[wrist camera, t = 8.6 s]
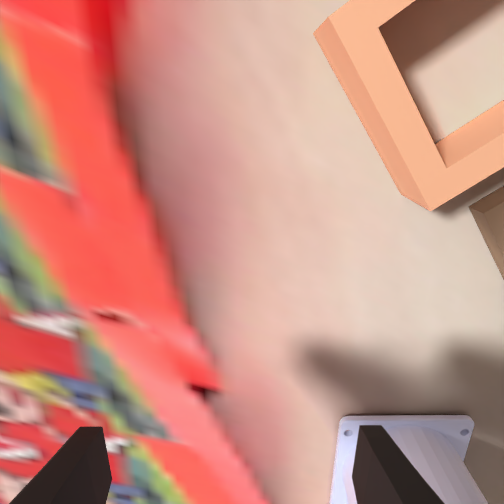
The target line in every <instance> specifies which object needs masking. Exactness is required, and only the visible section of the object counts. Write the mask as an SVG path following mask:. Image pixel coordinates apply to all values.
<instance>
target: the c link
mask: <svg viewBox="0 0 504 504" xmlns="http://www.w3.org/2000/svg"><path fill="white" fill-rule="evenodd" d="M414 1H415V0H350V1H348V2H347V3H346V4H345V5H343V6H342V7H341V8H339V9H338V10H337V11H335V12H334V13H333V14H331V15H330V16H329V17H328V18H327V19H326V20H325V21H324V22H323V23H322V24H321V25H320V26H319V28H318V29H317V30H316V31H315V32H314V33H313V34H314V36H315V38H316V40H317V41H318V43H319V45H320V47H321V49H322V51H323V52H324V54H325V56H326V58H327V60H328V62H329V63H330V65H331V67H332V69H333V71H334V73H335V74H336V76H337V78H338V80H339V82H340V84H341V85H342V87H343V89H344V91H345V93H346V95H347V96H348V98H349V100H350V102H351V104H352V105H353V107H354V109H355V111H356V113H357V115H358V116H359V118H360V120H361V122H362V124H363V126H364V127H365V129H366V131H367V133H368V135H369V137H370V138H371V140H372V142H373V144H374V146H375V148H376V149H377V151H378V153H379V155H380V157H381V159H382V160H383V162H384V164H385V166H386V168H387V170H388V171H389V173H390V175H391V177H392V179H393V181H394V182H395V184H396V186H397V188H398V190H399V191H400V193H401V195H403V196H405V197H406V198H408V199H410V200H412V201H413V202H415V203H417V204H419V205H420V206H422V207H424V208H426V209H427V210H429V211H432V210H434V209H435V208H437V207H439V206H440V205H442V204H444V203H445V202H447V201H449V200H450V199H452V198H454V197H455V196H457V195H459V194H460V193H462V192H464V191H465V190H467V189H469V188H470V187H472V186H474V185H475V184H477V183H479V182H480V181H482V180H483V179H485V178H487V177H488V176H490V175H492V174H493V173H495V172H497V171H498V170H500V169H502V168H503V167H504V100H503V101H502V102H500V103H498V104H497V105H495V106H494V107H492V108H491V109H489V110H487V111H486V112H484V113H483V114H481V115H480V116H478V117H477V118H475V119H473V120H472V121H470V122H469V123H467V124H466V125H464V126H463V127H461V128H459V129H458V130H456V131H455V132H453V133H452V134H450V135H448V136H447V137H445V138H444V139H442V140H441V141H439V142H438V143H436V144H434V142H433V140H432V137H431V135H430V133H429V131H428V129H427V127H426V125H425V123H424V121H423V119H422V117H421V115H420V113H419V111H418V109H417V107H416V105H415V103H414V100H413V98H412V96H411V94H410V92H409V90H408V88H407V86H406V84H405V82H404V80H403V78H402V76H401V74H400V72H399V70H398V68H397V66H396V63H395V61H394V59H393V57H392V55H391V53H390V51H389V49H388V47H387V45H386V43H385V41H384V39H383V37H382V35H381V33H380V31H379V29H378V27H380V26H381V25H382V24H384V23H385V22H386V21H388V20H389V19H391V18H392V17H393V16H395V15H396V14H397V13H399V12H400V11H401V10H403V9H404V8H406V7H407V6H408V5H410V4H411V3H412V2H414Z"/></svg>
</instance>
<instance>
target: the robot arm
mask: <svg viewBox="0 0 504 504" xmlns="http://www.w3.org/2000/svg"><path fill="white" fill-rule="evenodd" d="M473 428H474V421H473V420H472V418H471V417H470V416H468V415H396V416H345V417H343V418H342V419H341V420H340V422H339V430H338V438H337V446H336V454H335V462H334V470H333V478H332V486H331V494H330V503H329V504H489V503H488V502H487V500H486V499H485V497H484V495H483V494H482V492H481V490H480V489H479V487H478V485H477V484H476V482H475V480H474V479H473V477H472V476H471V474H470V472H469V471H468V469H467V467H466V466H465V464H464V458H465V455H466V452H467V448H468V445H469V442H470V438H471V435H472V432H473ZM346 430H349V431H346ZM111 481H112V476H111V471H110V465H109V460H108V455H107V449H106V444H105V439H104V433H103V428H102V427H80V428H79V429H77V430H76V432H75V433H74V434H73V435H72V436H71V437H70V438H69V439H68V440H67V442H66V443H65V444H64V445H63V446H62V447H61V448H60V449H59V450H58V452H57V453H56V454H55V455H54V456H53V457H52V458H51V459H50V460H49V461H48V463H47V464H46V465H45V466H44V467H43V468H42V469H41V470H40V471H39V472H38V474H37V475H36V476H35V477H34V478H33V479H32V480H31V481H30V482H29V483H28V484H27V485H26V486H25V487H24V488H23V489H22V491H21V492H20V493H19V494H18V495H17V496H16V497H15V498H14V499H13V500H12V501H11V502H10V503H9V504H106V500H107V496H108V492H109V489H110V485H111Z"/></svg>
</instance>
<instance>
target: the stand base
mask: <svg viewBox="0 0 504 504" xmlns="http://www.w3.org/2000/svg"><path fill="white" fill-rule="evenodd" d="M469 209H470V211H471V213H472V215H473V217H474V219H475V221H476V223H477V225H478V227H479V229H480V231H481V233H482V236H483V238H484V240H485V242H486V244H487V246H488V248H489V250H490V252H491V254H492V256H493V258H494V260H495V263H496V265H497V267H498V269H499V271H500V273H501V275H502V277H503V279H504V186H503V187H501V188H499V189H498V190H496V191H494V192H493V193H491V194H489V195H488V196H486V197H484V198H482V199H481V200H479V201H477V202H476V203H474V204H472V205H471V206H469Z"/></svg>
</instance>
